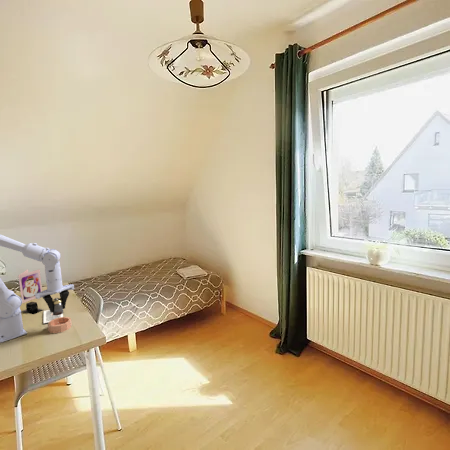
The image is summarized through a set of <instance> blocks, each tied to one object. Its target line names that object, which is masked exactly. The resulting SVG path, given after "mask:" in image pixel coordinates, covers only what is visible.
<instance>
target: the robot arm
mask: <svg viewBox="0 0 450 450" xmlns="http://www.w3.org/2000/svg"><path fill="white" fill-rule="evenodd" d="M0 247H3V248H6V249H10V250H13V251H16V252H20V253H22V256H24V257H25V258H29V259H30V260H31V259H32V260H34V261H37V262H41V264H43V265H44V272H45V273H44V274H45V281H46V283H45V284H46V289H45V290H42V291H41V292H39V293H35V297H36V298H35V299H37V300H39V299H41V298H42V299H43V300H44V302H45V303H46V305H47V306H48V310H50V312H53V303H52V300H53V299H54V298H53V297H52V295H56V294H59V298H62V304H63V310H64V309H66V304H67V300H68V298H69V295H70V291H71V290H75V285H74V284H73V283H71V284H65V285H63V277H62V268H61V263H60V262H61V261H60V259H61V257H62V256H61V255H62V254H61V252H60V251H59V250H57V249H56V248H50V247H44V246H41V245H38V243H37V242H30V243H27V244H26V243H23V242H21V241H19V240H16V239H13V238H11V237H8V236H5V235H3V234H1V233H0ZM22 304H23V303H22V299H21V296H19V295H17V294H16V293H15V292H14V290H11V289H8V287H7V286H6V284H5V283H4V280H2V278H1V277H0V343H4V342H6V341H7V342H8V341H9V340H13V339H15V338H18V337H21V336H24V335H27V334H28V332H27V331H26V330H25V329H24V324H23V317H22V312H21V311H22V310H21V306H22Z"/></svg>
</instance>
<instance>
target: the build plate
mask: <svg viewBox="0 0 450 450" xmlns="http://www.w3.org/2000/svg"><path fill="white" fill-rule="evenodd" d="M25 308H26V309H24V310H21V313H25V314H29V315H36V314H38V313H41V312H44V309H42V308H39V307H38V303H37V302H36V301H30V302H29V301H28V302H26V304H25Z"/></svg>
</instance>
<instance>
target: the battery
mask: <svg viewBox="0 0 450 450" xmlns="http://www.w3.org/2000/svg"><path fill="white" fill-rule="evenodd" d="M52 303H53V315H60V314H63V315H64V309H63V304H62V298H60V297H55V298H53V300H52Z"/></svg>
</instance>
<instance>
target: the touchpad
mask: <svg viewBox="0 0 450 450" xmlns="http://www.w3.org/2000/svg"><path fill="white" fill-rule="evenodd" d="M60 317H64V313H63V314H60V315H53V312H50V309H47V310H43V324H48V323H49V322H50V321H51V320H53V319H56V318H60Z"/></svg>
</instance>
